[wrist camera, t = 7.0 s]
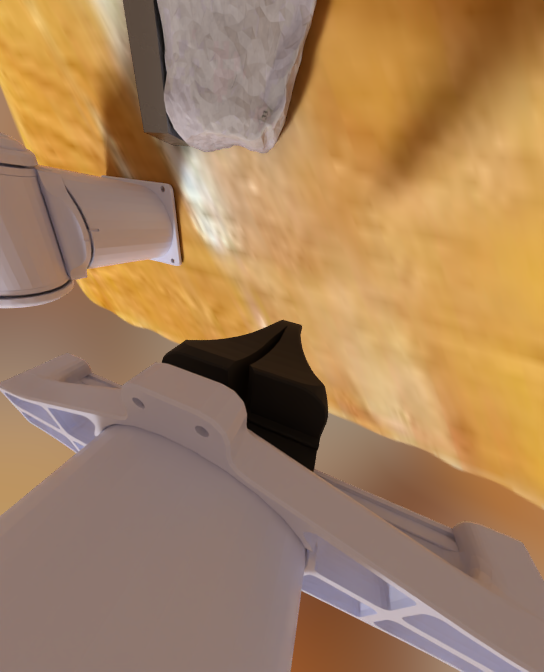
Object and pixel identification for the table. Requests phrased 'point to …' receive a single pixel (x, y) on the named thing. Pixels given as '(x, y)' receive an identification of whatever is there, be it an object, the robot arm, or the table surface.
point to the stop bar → (150, 67)
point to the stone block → (232, 68)
